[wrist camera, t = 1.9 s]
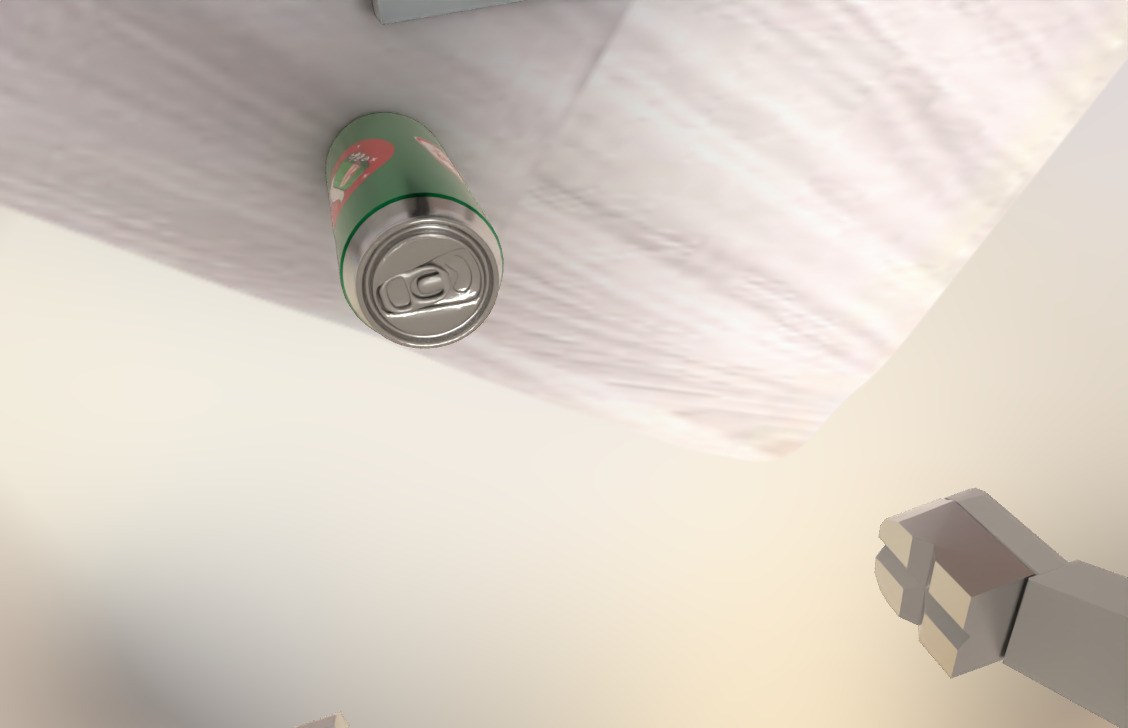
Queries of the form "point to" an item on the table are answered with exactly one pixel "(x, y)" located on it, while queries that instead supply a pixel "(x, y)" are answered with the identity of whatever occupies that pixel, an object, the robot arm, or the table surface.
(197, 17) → the table surface
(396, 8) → the tray
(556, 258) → the table surface
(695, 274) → the table surface
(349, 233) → the soda can
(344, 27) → the table surface
